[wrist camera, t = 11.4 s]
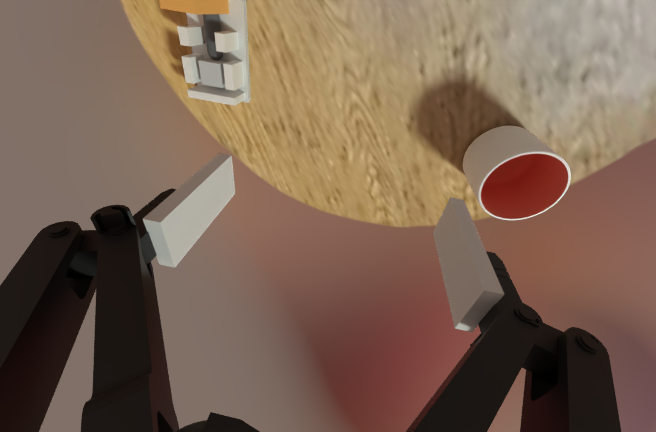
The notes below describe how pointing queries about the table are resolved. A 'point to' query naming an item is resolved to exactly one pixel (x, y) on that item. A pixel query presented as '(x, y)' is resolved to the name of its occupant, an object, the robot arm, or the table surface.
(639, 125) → the table surface
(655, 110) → the table surface
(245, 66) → the clip rail
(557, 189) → the cup
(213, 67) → the orange block with rod
